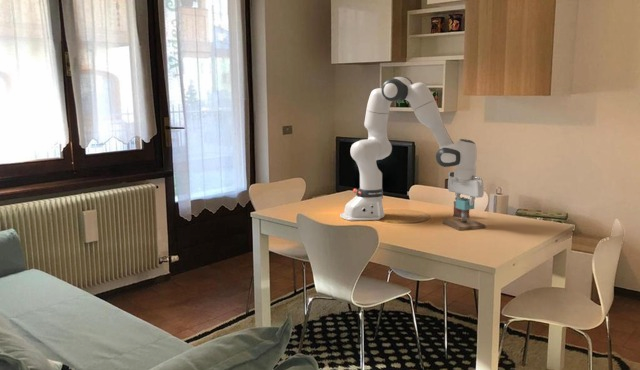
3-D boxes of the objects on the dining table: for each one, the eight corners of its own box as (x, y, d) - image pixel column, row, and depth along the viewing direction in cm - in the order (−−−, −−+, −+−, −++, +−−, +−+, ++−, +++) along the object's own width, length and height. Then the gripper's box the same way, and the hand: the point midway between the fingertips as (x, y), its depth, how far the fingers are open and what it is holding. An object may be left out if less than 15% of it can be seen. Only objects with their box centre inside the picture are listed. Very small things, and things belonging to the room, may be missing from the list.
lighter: (470, 216, 282) (470, 197, 280) (468, 218, 279) (469, 198, 277) (453, 215, 285) (454, 196, 283) (452, 216, 282) (453, 197, 280)
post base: (459, 230, 255) (459, 212, 254) (442, 223, 268) (443, 206, 267) (485, 227, 260) (486, 209, 258) (468, 221, 273) (468, 204, 271)
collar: (464, 210, 258) (464, 201, 258) (455, 207, 264) (455, 199, 263) (474, 208, 261) (474, 200, 261) (465, 206, 266) (465, 198, 266)
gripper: (487, 177, 252) (486, 207, 255) (456, 171, 270) (455, 199, 272) (477, 178, 249) (476, 208, 252) (445, 172, 267) (445, 200, 269)
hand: (464, 203), depth 262 cm, fingers closed on collar, 6 cm apart
